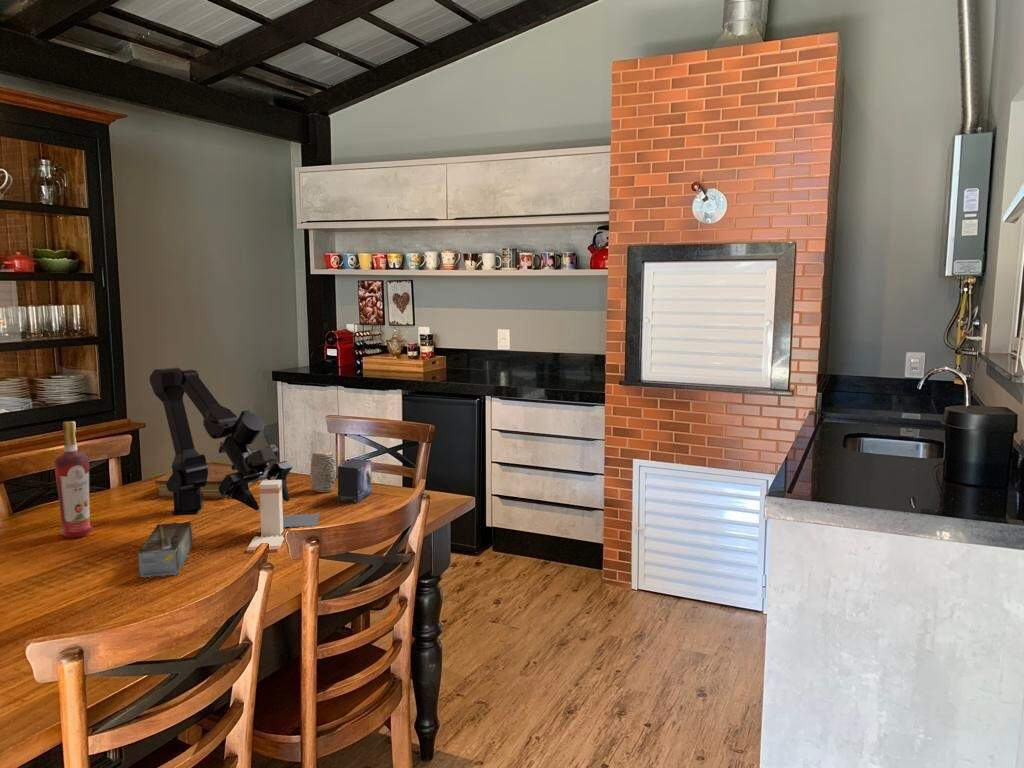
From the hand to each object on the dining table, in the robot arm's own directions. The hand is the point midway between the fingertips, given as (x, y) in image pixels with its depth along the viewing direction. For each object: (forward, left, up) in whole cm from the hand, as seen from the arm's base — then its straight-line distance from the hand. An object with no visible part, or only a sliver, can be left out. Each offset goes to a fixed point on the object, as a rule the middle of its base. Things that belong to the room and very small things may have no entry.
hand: (273, 504), depth 187 cm
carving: (+7, +40, -8) cm, 41 cm away
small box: (+18, +31, -8) cm, 36 cm away
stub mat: (+4, +10, -7) cm, 13 cm away
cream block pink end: (0, -8, -7) cm, 11 cm away
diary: (-26, +44, -8) cm, 52 cm away
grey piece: (-20, -16, -8) cm, 27 cm away
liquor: (-47, +5, -8) cm, 48 cm away
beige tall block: (-1, +1, -7) cm, 7 cm away
